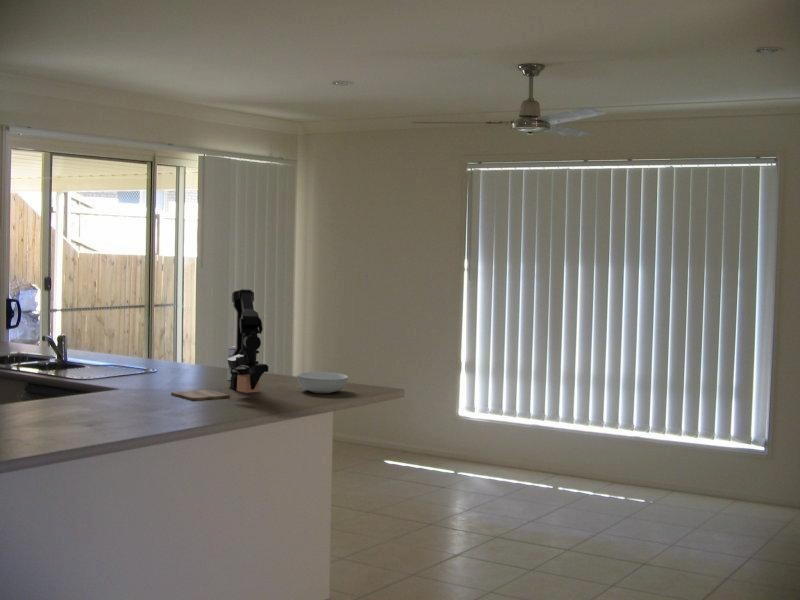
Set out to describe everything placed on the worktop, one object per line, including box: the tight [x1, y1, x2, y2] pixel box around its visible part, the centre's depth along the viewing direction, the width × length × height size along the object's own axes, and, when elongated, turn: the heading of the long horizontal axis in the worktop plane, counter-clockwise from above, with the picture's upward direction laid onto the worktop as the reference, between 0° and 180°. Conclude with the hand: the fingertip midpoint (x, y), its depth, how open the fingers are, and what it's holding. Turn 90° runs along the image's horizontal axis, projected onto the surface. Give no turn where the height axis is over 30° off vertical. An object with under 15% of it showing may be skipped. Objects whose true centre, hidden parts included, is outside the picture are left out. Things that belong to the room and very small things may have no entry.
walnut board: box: [170, 389, 231, 402], centre depth 357 cm, size 16×16×1 cm
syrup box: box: [227, 345, 236, 381], centre depth 405 cm, size 6×6×14 cm
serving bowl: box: [296, 371, 349, 394], centre depth 381 cm, size 21×21×7 cm
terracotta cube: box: [236, 374, 260, 394], centre depth 358 cm, size 6×6×6 cm
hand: (247, 388), depth 358 cm, fingers closed on terracotta cube, 6 cm apart
